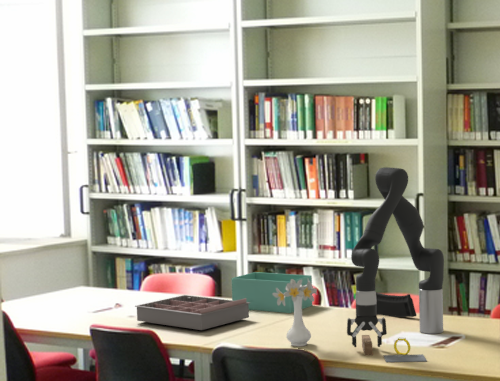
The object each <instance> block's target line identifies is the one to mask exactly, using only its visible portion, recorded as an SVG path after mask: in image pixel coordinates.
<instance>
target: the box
mask: <svg viewBox="0 0 500 381" xmlns="http://www.w3.org/2000/svg"><path fill="white" fill-rule="evenodd" d="M291 279H294V280H295V282H296V284H297V282H298V281H299V280H302V283H301V284H302V286H304V285H307V283H308V279H309V281H310V282H311V285H312V286H313V284H312V283H313V282H312V281H313V280H312V279H313V277H312V275H310V274H309V275H307V274H292V273H291V274H290V273H274V272H257V271H254V272H250V273H247V274H243V275H238V276H235V277H232V278H231V299H232V300H233V301H236V300H240V299H245V298H246V302H250V304H248V306H249V310H252V311H261V312H262V311H263V312H272V313H273V312H274V313H284V314H286V313H287V314H294V302H293V301H292V296H288V297H285V306H284V305H283V304H282V302H281V304H280V305H279V306H278V305H277V300H278V298H276V297H274V296H273V294H272V293H277V291H276V288H278V289H279V290H280V292H282V293H283V294H284V293H285V292H287V290H285V288H286V286H287V284H288V283H290V280H291ZM305 288H306V287H305ZM301 291H302V290H301ZM311 295H312V296H313V294H311ZM303 297H304V295H303ZM312 306H313V301H311V300H310V299H309V298H307V300H306V301H304V299H302V310H304V309H306V308H309V307H312Z"/></svg>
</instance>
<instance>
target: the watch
mask: <svg viewBox="0 0 500 381" xmlns="http://www.w3.org/2000/svg"><path fill="white" fill-rule="evenodd" d="M399 341H400V342H401V341H404V342H405V343H406V345H407V351H406V352H400V351H399V350H398V347H397V344H398V342H399ZM393 349H394V351H395V352H396V355H409V353H410V351H411V349H412V348H411V343H410V341H408V339H406V337H405V336H404V337H403V336H401V337H397V339H396V340H395V341H394V343H393Z"/></svg>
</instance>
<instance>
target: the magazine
mask: <svg viewBox="0 0 500 381" xmlns="http://www.w3.org/2000/svg"><path fill="white" fill-rule="evenodd" d="M376 300H377V302H376V305H377V316H378V315H380V316H385V317H393V318H394V317H395V318H400V317H401V318H403V317H404V318H406V317H407V318H409V317H411V318H415V317H416V316H417V312H416V308H415V305H414V300H413V298H412V296H411V294H409V293H408V294H406V295H395V294H393V295H391V294H385V293H380V292H376Z"/></svg>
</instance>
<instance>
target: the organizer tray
mask: <svg viewBox="0 0 500 381" xmlns="http://www.w3.org/2000/svg"><path fill="white" fill-rule="evenodd" d="M248 304H250V302H246V298H245V299H240V300H236V301H233V300H231V299H223V298H214V297H213V298H212V297H205V296H197V295H188V294H183V295H178V296H174V297H169V298H164V299H159V300H155V301H152V302H146V303H142V304H136V305H135V306H134V307H135V308H136V320H137V321H138V322H144V323H145V322H146V323H149V324H150V323H151V324H158V325H164V327H165V325H166V326H170V327H171V326H172V327H177V328H178V327H179V328H186V329H190V330H192V329H193V330H199V331H205V330H207V329H211V328H215V327H220V326H222V325H225V324H230V323H234V322H237V321H241V320H245V319H248V318H249V317H250V316H249V315H250V314H249V306H248Z"/></svg>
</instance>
